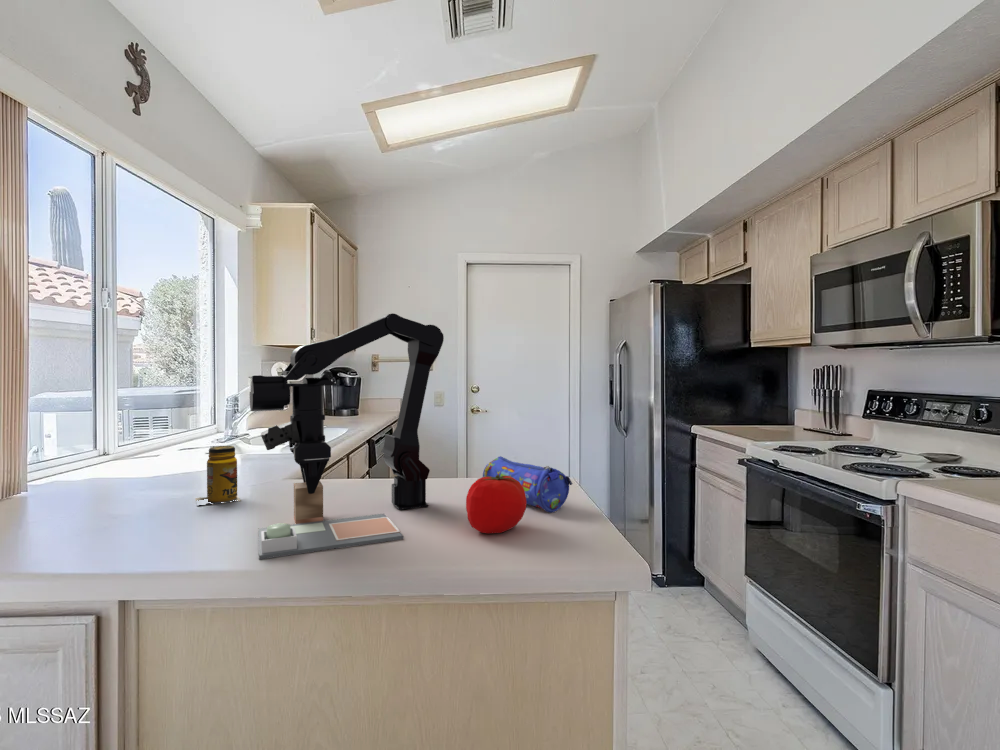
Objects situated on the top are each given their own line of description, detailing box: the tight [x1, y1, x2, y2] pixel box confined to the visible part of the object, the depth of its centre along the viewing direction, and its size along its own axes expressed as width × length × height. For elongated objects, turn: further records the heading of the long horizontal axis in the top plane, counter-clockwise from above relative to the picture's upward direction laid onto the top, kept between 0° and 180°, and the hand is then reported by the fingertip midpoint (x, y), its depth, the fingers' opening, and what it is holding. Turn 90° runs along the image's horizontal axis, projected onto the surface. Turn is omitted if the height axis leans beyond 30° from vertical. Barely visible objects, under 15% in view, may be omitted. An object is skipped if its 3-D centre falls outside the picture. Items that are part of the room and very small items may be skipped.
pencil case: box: [482, 455, 574, 514], centre depth 117 cm, size 22×9×10 cm, turn 38°
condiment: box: [194, 445, 241, 503], centre depth 118 cm, size 7×8×12 cm
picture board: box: [257, 513, 404, 560], centre depth 94 cm, size 23×15×3 cm, turn 115°
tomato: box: [465, 475, 527, 535], centre depth 98 cm, size 11×13×10 cm
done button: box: [266, 522, 291, 539], centre depth 87 cm, size 4×4×2 cm
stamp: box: [293, 480, 324, 524], centre depth 104 cm, size 5×5×7 cm
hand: (308, 488), depth 104 cm, fingers open, 9 cm apart
